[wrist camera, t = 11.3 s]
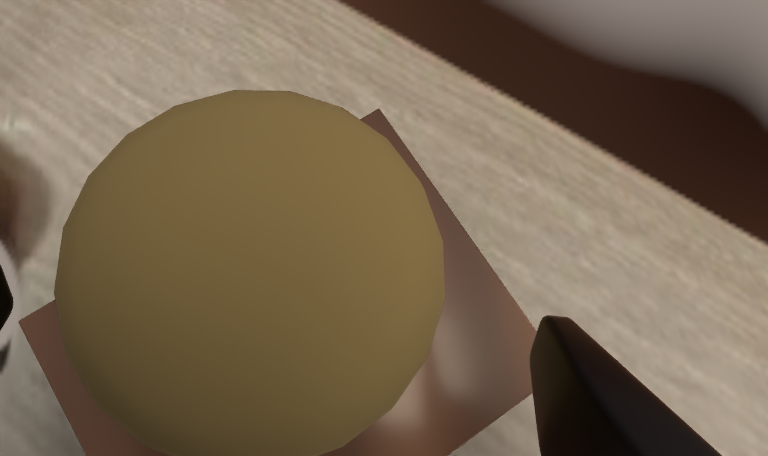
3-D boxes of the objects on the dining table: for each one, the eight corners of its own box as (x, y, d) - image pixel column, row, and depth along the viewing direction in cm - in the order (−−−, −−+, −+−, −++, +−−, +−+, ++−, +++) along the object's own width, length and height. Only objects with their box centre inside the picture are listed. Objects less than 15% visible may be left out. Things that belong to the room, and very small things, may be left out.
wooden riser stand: (226, 578, 18) (184, 650, 14) (91, 326, 20) (16, 321, 16) (521, 365, 21) (564, 370, 16) (376, 154, 22) (379, 107, 18)
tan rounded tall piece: (194, 272, 16) (-120, 133, 6) (360, 192, 17) (357, -57, 7) (271, 449, 15) (59, 685, 5) (445, 355, 16) (605, 372, 5)
